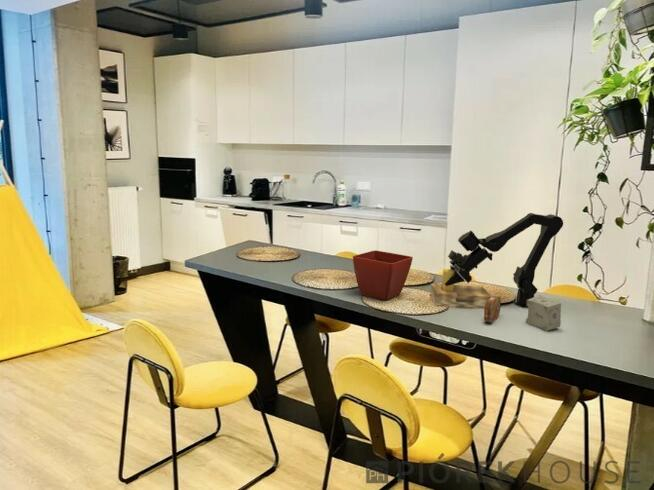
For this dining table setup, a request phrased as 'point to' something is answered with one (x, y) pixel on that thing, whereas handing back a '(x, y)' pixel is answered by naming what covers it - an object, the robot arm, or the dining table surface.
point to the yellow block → (446, 277)
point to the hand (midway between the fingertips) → (444, 283)
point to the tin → (492, 309)
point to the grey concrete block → (544, 313)
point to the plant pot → (381, 273)
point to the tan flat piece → (460, 296)
